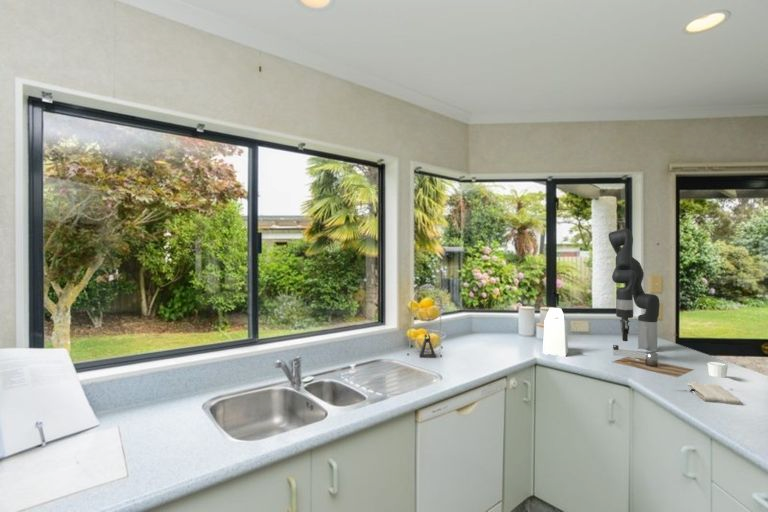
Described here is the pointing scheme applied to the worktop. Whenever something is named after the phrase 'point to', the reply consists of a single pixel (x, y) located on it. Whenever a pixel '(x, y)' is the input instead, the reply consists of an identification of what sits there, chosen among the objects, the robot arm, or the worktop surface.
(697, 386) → the washcloth
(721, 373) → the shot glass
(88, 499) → the worktop surface
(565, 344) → the milk
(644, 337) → the robot arm
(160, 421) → the worktop surface
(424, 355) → the phone stand
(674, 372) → the dial plate
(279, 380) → the worktop surface
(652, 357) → the lever
